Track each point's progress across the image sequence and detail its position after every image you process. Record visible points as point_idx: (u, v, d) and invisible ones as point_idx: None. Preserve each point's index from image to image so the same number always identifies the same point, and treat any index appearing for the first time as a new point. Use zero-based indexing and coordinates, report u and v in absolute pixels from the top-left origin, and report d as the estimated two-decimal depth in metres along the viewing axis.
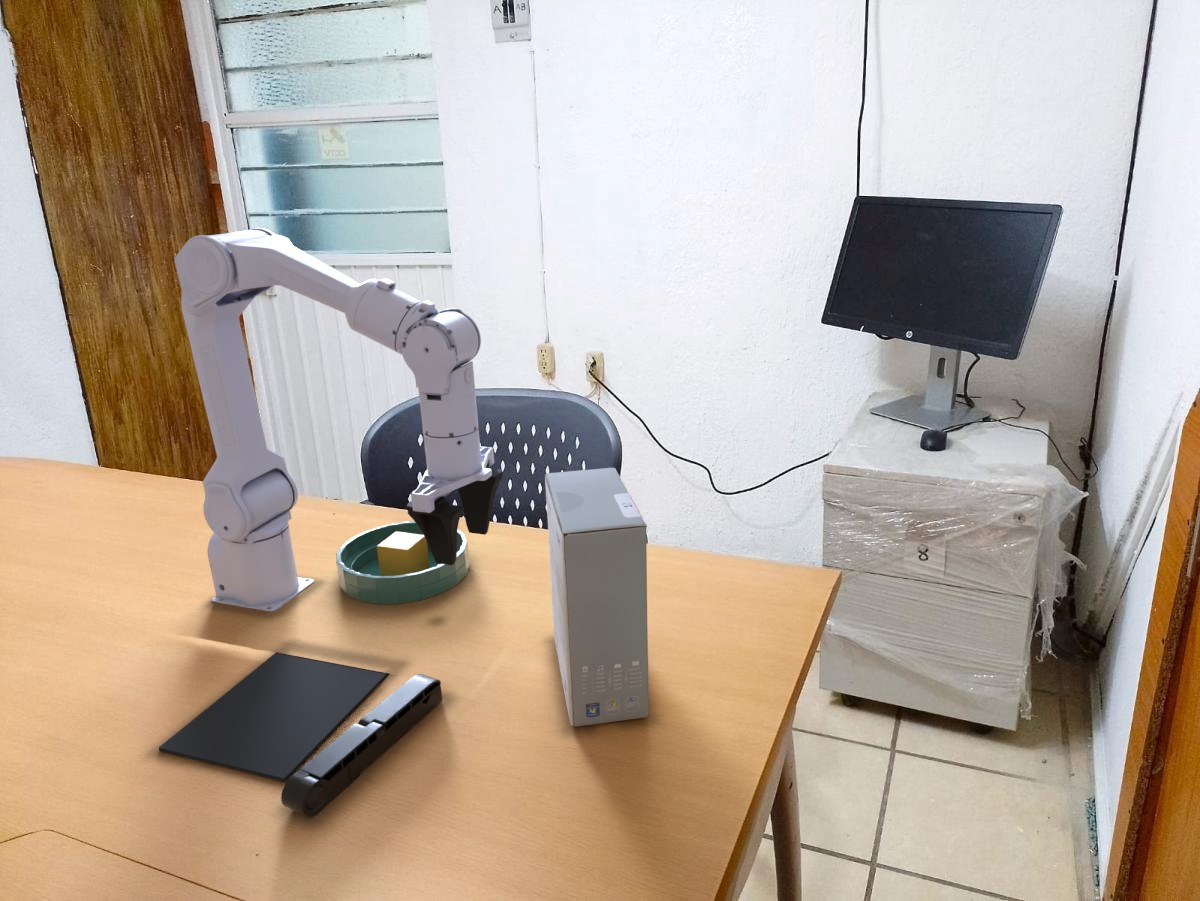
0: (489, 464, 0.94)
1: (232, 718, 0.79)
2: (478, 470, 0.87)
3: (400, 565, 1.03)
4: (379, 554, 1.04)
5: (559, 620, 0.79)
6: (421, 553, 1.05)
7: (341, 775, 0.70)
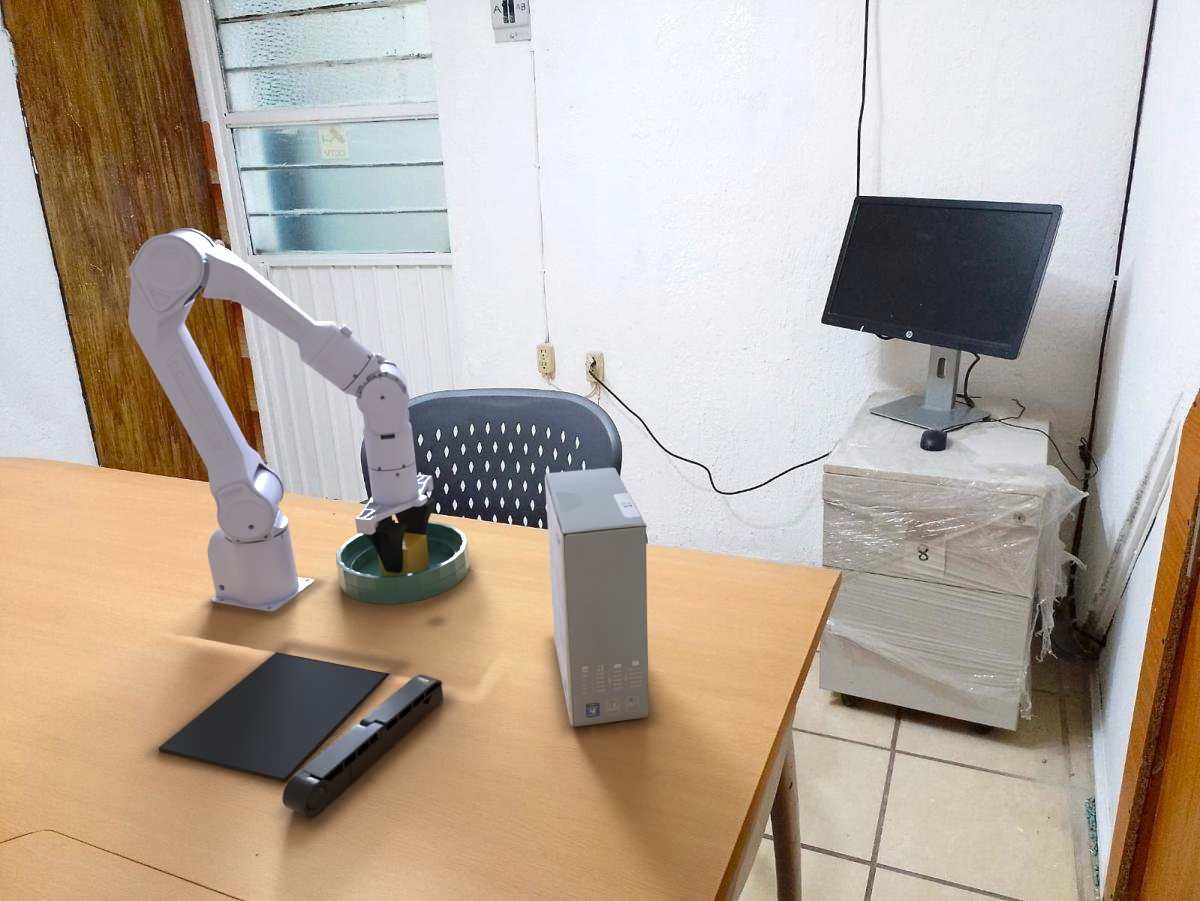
0: (428, 490, 1.09)
1: (232, 718, 0.79)
2: (415, 497, 1.02)
3: None
4: None
5: (559, 620, 0.79)
6: (421, 553, 1.05)
7: (342, 776, 0.70)
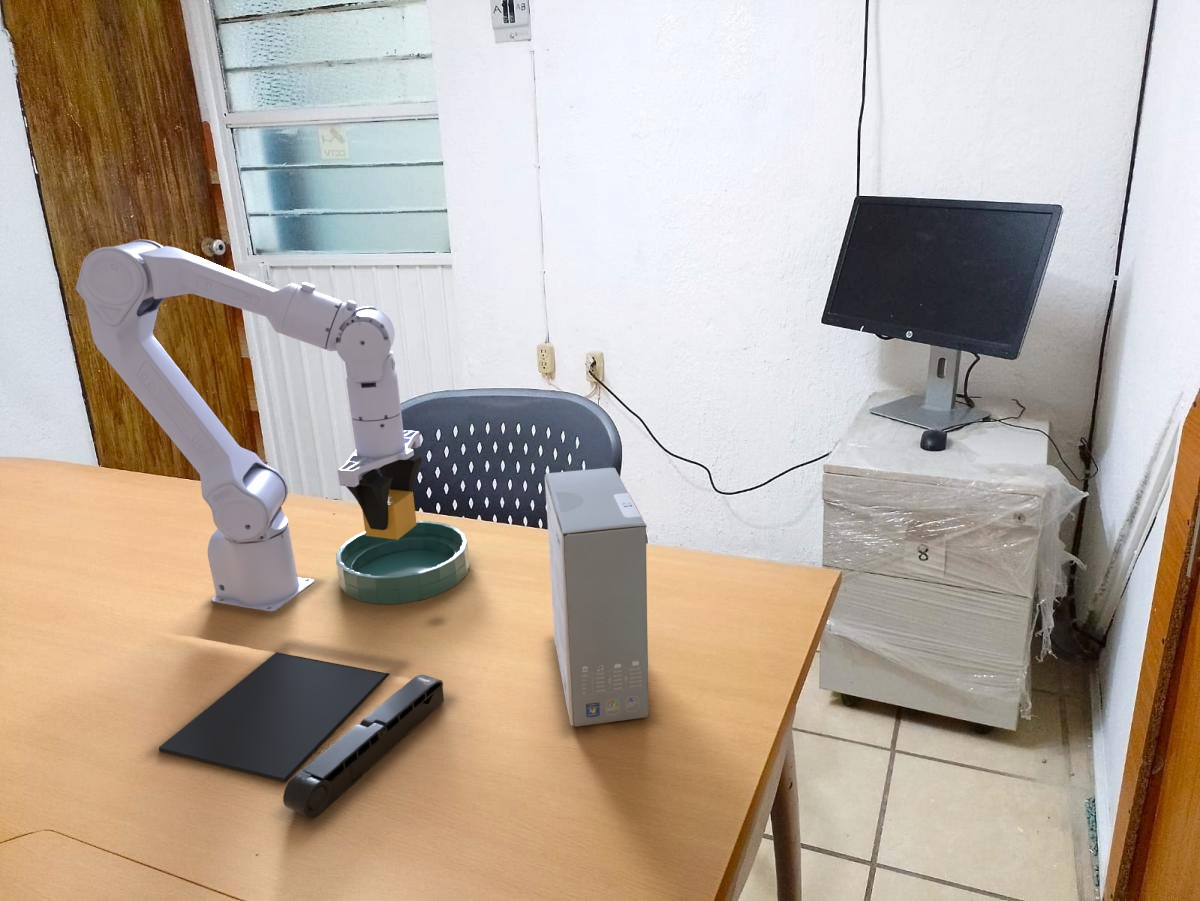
0: (415, 446, 1.04)
1: (232, 718, 0.79)
2: (401, 450, 0.97)
3: None
4: None
5: (559, 620, 0.79)
6: (408, 510, 1.01)
7: (343, 776, 0.70)
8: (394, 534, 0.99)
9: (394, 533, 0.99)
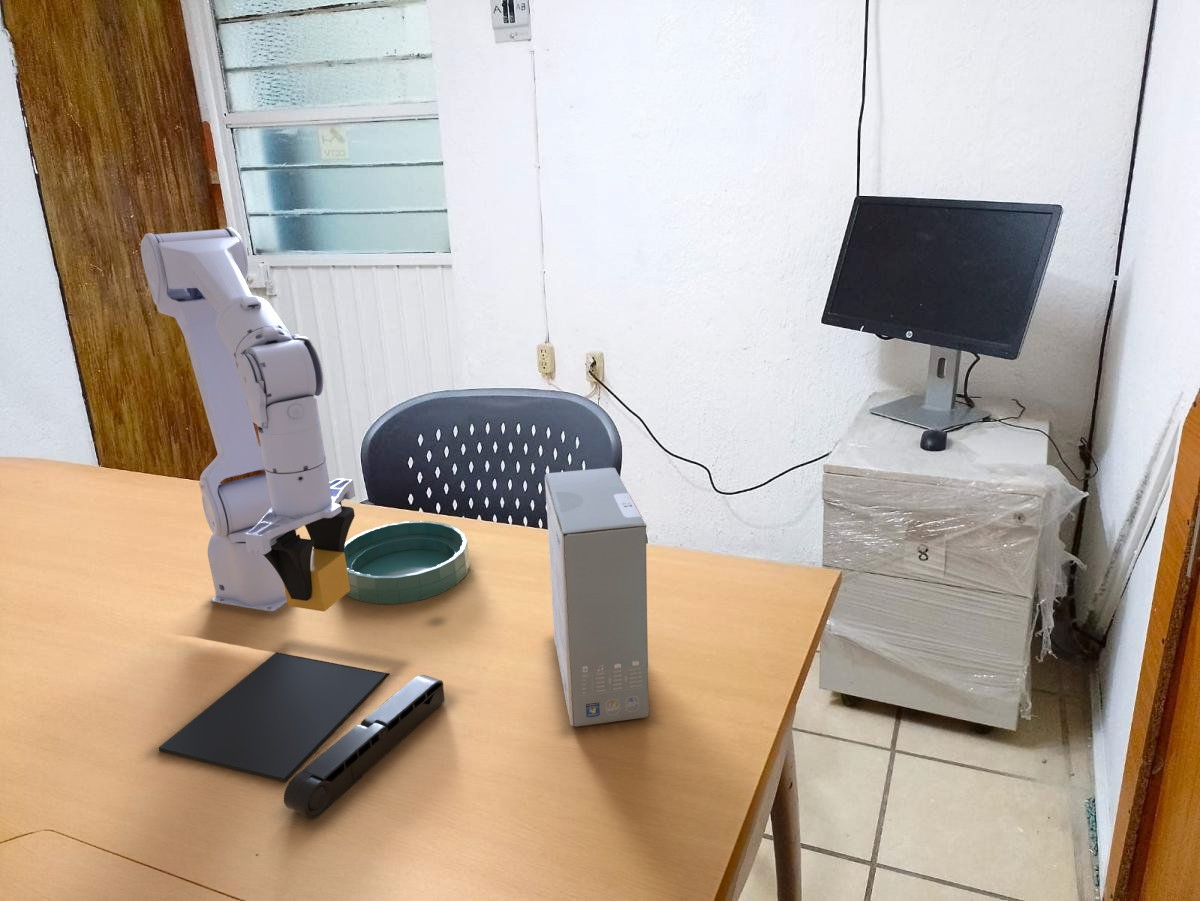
0: (348, 497, 0.89)
1: (232, 718, 0.79)
2: (325, 506, 0.82)
3: None
4: None
5: (559, 620, 0.79)
6: (338, 575, 0.85)
7: (344, 776, 0.70)
8: (320, 605, 0.83)
9: (320, 604, 0.83)
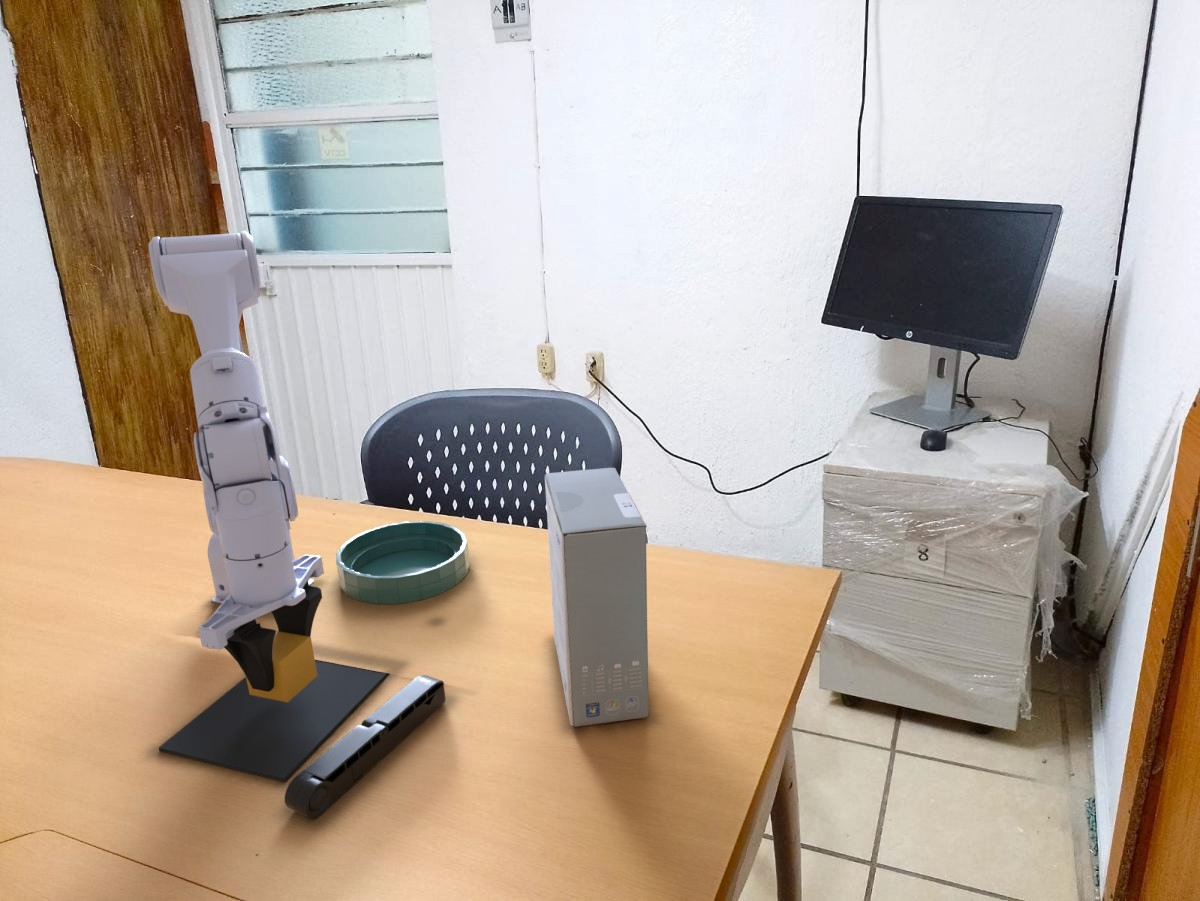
0: (316, 576, 0.83)
1: (232, 718, 0.79)
2: (288, 592, 0.76)
3: None
4: None
5: (559, 620, 0.79)
6: (303, 662, 0.80)
7: (344, 776, 0.70)
8: (283, 696, 0.78)
9: (283, 694, 0.78)
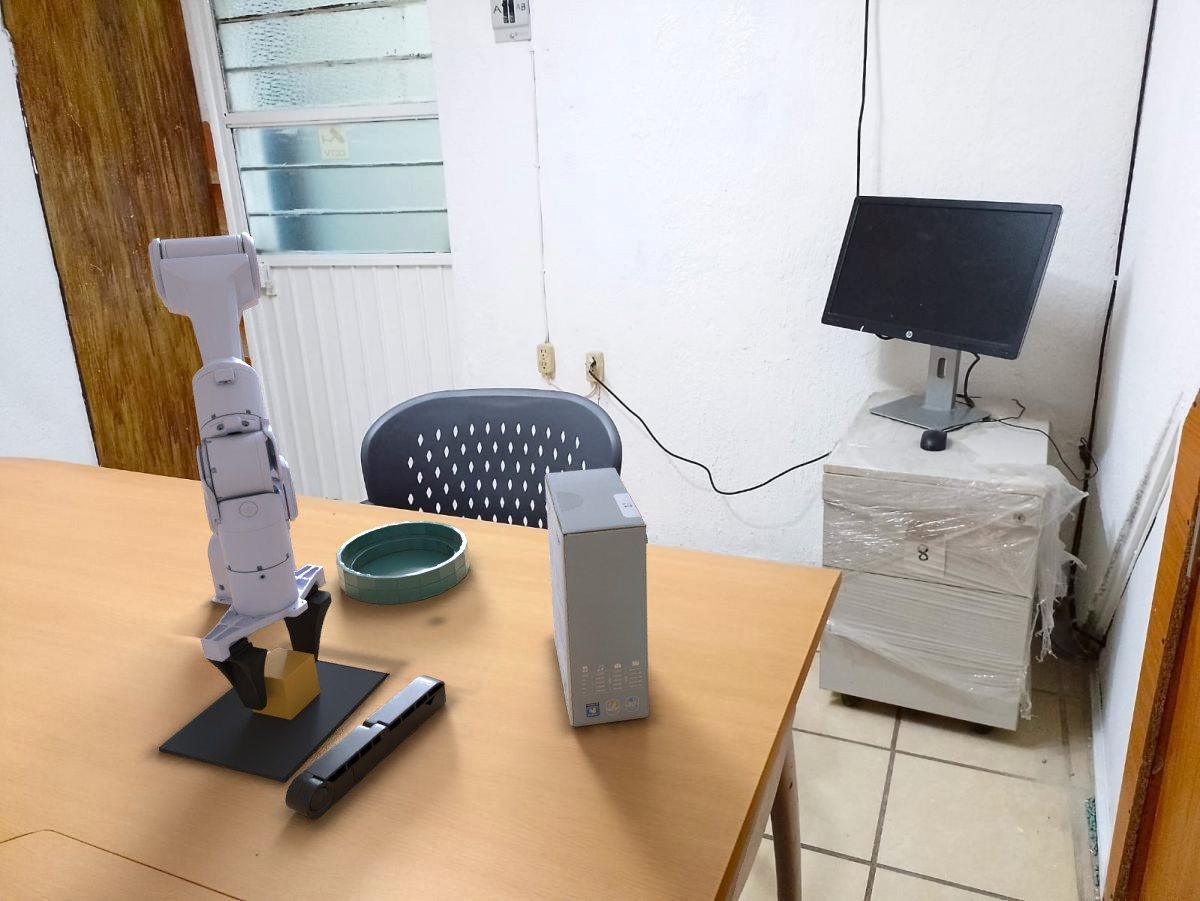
0: (318, 586, 0.83)
1: (232, 718, 0.79)
2: (290, 603, 0.77)
3: (276, 698, 0.78)
4: None
5: (559, 620, 0.79)
6: (307, 679, 0.81)
7: (345, 777, 0.70)
8: (287, 713, 0.79)
9: (287, 712, 0.79)
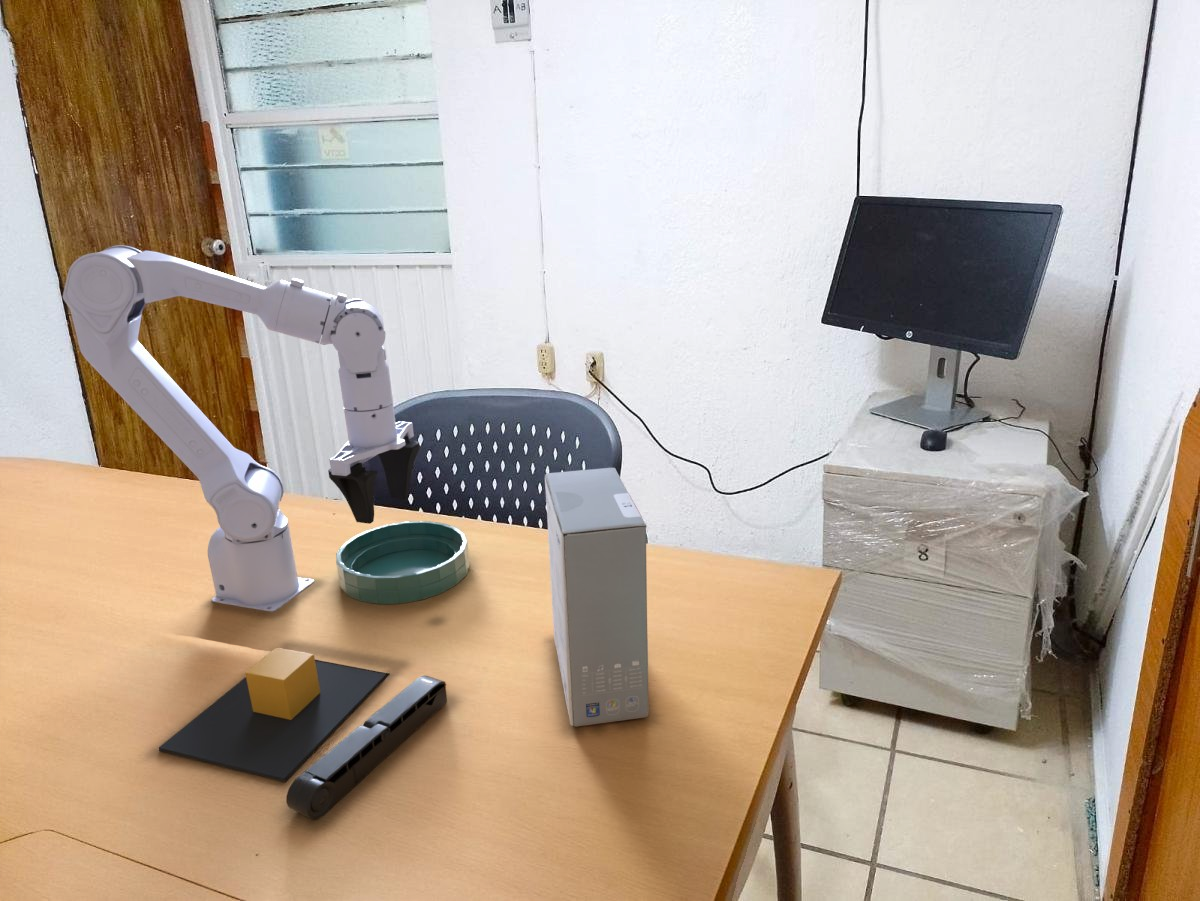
0: (408, 437, 1.06)
1: (232, 718, 0.79)
2: (392, 440, 0.99)
3: (276, 698, 0.78)
4: (249, 683, 0.79)
5: (559, 620, 0.79)
6: (307, 679, 0.81)
7: (346, 777, 0.69)
8: (287, 713, 0.79)
9: (287, 712, 0.79)
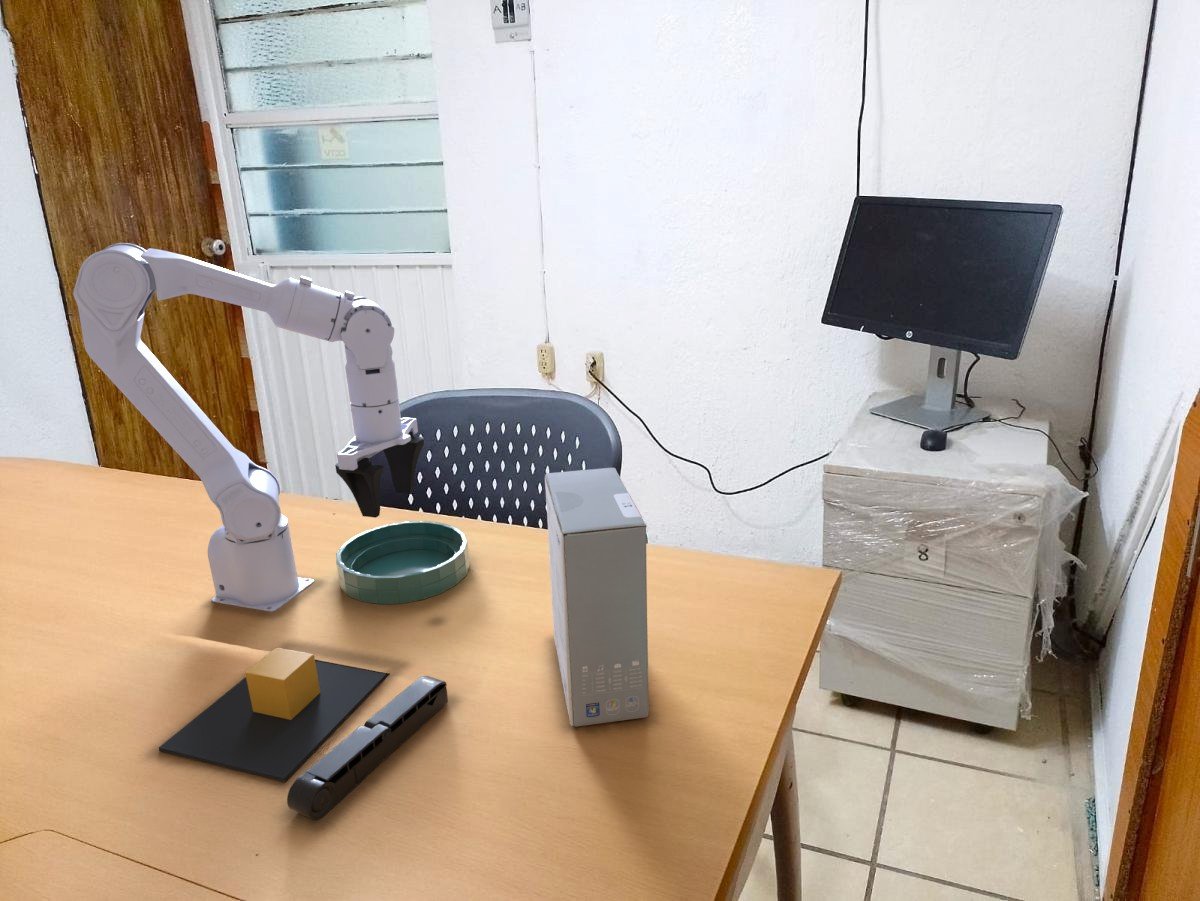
0: (413, 433, 1.08)
1: (232, 718, 0.79)
2: (398, 436, 1.01)
3: (276, 698, 0.78)
4: (249, 683, 0.79)
5: (559, 620, 0.79)
6: (307, 679, 0.81)
7: (347, 777, 0.69)
8: (287, 713, 0.79)
9: (287, 712, 0.79)
